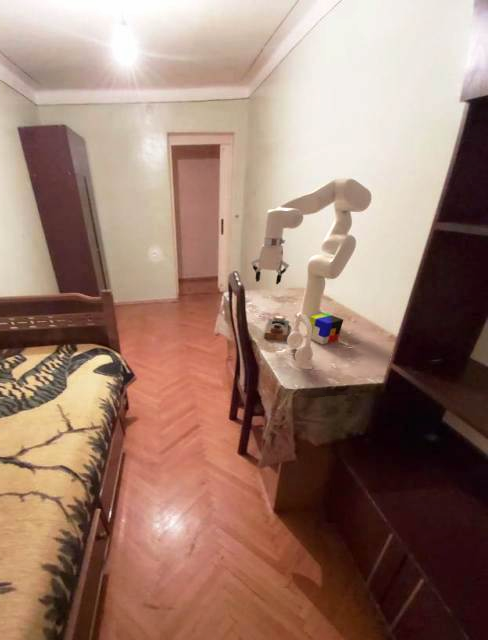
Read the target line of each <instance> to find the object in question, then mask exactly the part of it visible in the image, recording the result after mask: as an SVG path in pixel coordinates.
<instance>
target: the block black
mask: <svg viewBox="0 0 488 640" xmlns="http://www.w3.org/2000/svg"><path fill="white" fill-rule="evenodd" d="M275 323H279V324H281V325H284V327H288V328H289V324H290V320H286V317H283V319H282V321H276V316H273V318H269V319H268V323H267V325H269V326H271V325H272V324H275Z"/></svg>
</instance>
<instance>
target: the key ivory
mask: <svg viewBox="0 0 488 640" xmlns="http://www.w3.org/2000/svg"><path fill="white" fill-rule="evenodd" d="M275 317H276V321H282V319H283V318H284V316H283V315H276V316H275Z"/></svg>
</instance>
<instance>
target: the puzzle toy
mask: <svg viewBox="0 0 488 640" xmlns="http://www.w3.org/2000/svg"><path fill="white" fill-rule="evenodd" d="M327 313H328V312H326V313H325V314H320V315H315V316H311V317H310V322H311V327H312V335H311V341H314V342H316V343H318V344H320V345H325V344H330V343H333V342H336V341H338V340H339V337H340V334H341V329H342V327H343V323H344V319H343V318H340V317H338V316H335V315H332V314H330V313H328V314H327ZM306 336H307V334H306V335H305V337H306Z"/></svg>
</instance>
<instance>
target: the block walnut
mask: <svg viewBox="0 0 488 640" xmlns="http://www.w3.org/2000/svg"><path fill="white" fill-rule="evenodd" d="M274 325H275V324H272V325H271V326H269V325H268V324H267V325H266V328H265V331H264V339H269V340H277V341H286V342H287V339H288V331H289V326H288V327H284V325H281V327H280V328H274Z"/></svg>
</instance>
